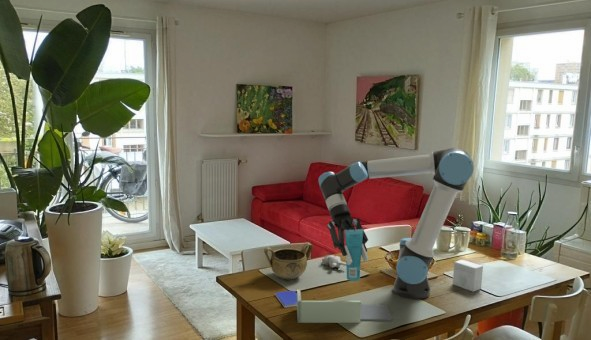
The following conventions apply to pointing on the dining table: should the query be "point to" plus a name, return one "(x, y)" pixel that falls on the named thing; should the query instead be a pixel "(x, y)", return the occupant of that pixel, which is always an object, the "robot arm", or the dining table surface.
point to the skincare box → (467, 275)
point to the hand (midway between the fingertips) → (358, 261)
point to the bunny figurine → (333, 261)
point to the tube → (354, 252)
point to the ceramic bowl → (289, 261)
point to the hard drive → (287, 298)
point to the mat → (375, 313)
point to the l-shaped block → (327, 311)
